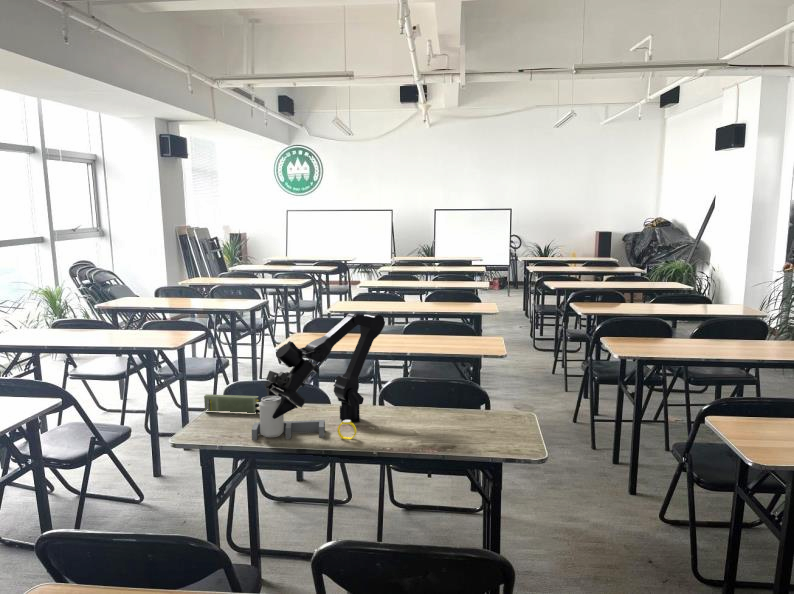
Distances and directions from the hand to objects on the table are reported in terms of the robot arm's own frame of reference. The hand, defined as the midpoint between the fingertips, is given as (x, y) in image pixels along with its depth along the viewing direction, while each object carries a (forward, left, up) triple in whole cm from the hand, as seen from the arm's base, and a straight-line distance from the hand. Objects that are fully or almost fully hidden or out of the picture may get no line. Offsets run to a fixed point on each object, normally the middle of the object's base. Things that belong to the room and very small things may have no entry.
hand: (267, 415), depth 184 cm
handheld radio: (+13, -29, -8) cm, 33 cm away
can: (-1, -1, -7) cm, 7 cm away
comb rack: (-7, -3, -8) cm, 10 cm away
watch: (-25, +3, -8) cm, 26 cm away
